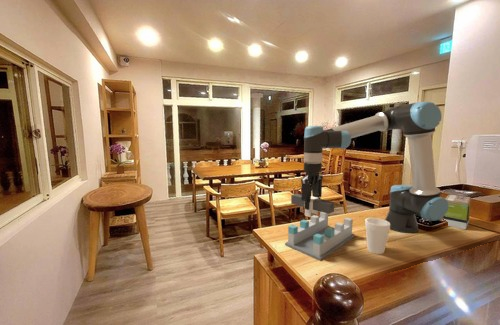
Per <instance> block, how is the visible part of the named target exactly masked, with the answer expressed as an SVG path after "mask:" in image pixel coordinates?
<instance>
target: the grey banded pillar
mask: <svg viewBox="0 0 500 325" xmlns="http://www.w3.org/2000/svg"><path fill="white" fill-rule="evenodd" d="M301 198H302V193H301V194H300V193H293V194H291V199H290V200H291V204H292V205H295V206H299V207H303V208H305V202H304V201H302V200H301ZM310 202H311V211H312V210H317V211H318V212H319V213H320V212H324V213H328V215H330V214H332V213H334V212H335V201H330V200H327V199H326V200H325V199H322V198H321V199H319V198H317V197H313V195H311V200H310Z"/></svg>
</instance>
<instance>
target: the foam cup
mask: <svg viewBox="0 0 500 325" xmlns="http://www.w3.org/2000/svg"><path fill="white" fill-rule="evenodd" d="M364 221H365V222H364V226H365V233H366V235H365V236H366V245H367V246H366V247H367V251H368V252H370V253H372V254H375V255H381V254H382V255H383V254H385V249H386V246H387V243H388V242H387V241H388V238H389V232H390V230H391V229H390V222H388V221H386V220H385V219H383V218H378V217H367V218H365V219H364Z"/></svg>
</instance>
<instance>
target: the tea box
mask: <svg viewBox="0 0 500 325" xmlns="http://www.w3.org/2000/svg"><path fill="white" fill-rule="evenodd" d="M444 198H445V199H446V200H447V201H448V204H449V208H448V211H447V213H446V214H445V215H444V216H443V217H442V220H443V219H444V220H446V221H447V222H448V227H450V226H451V227H452V228H456V229H460V230H465V231H466V230H467V227H468V225H469V222H470V214H471V203H472V202H471V201H472V198H471V197H470V196H462V195H455V194H454V195H453V194H448V195H447V196H446V197H444Z"/></svg>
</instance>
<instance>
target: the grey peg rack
mask: <svg viewBox="0 0 500 325" xmlns="http://www.w3.org/2000/svg"><path fill="white" fill-rule="evenodd" d="M353 222H354V219H353V218H350V217H347V216H346V217H345V218H343V222H339V221H337V222H336V223H334V227H333V226H329V214H328V213H324V212H320V211H319V216H318V215H317V214H313V215H311V217H310V220H306V219H301V220H300V221H299V227H298V225H295V224H290V225H289V226H288V227H287V241H286V242H284V245H285V246H286V247H288V248H291V249H292V250H295V251H297V252H300V253H302V254H305V255H306V256H308V257H311V258H313V259H316V260H318V261H319V262H321V261H322V260H323V259H325V258H326V257H328V256H329V255H331V254H332V253H333V252H335V251H337V250H338V249H339V248H340V247H342V246H343V245H344V244H346V243H348V242H349V241H351V240H352V239H354V238H355V236H356V234H355V233H353V224H354V223H353Z"/></svg>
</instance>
